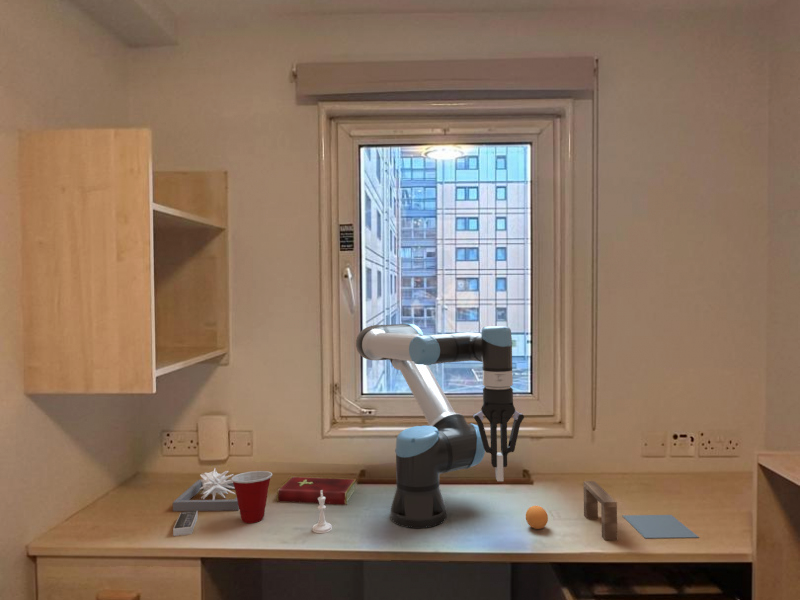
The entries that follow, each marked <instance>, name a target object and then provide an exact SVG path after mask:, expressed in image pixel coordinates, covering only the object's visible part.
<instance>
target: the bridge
mask: <svg viewBox="0 0 800 600" xmlns="http://www.w3.org/2000/svg"><path fill="white" fill-rule="evenodd" d="M598 502H599V503H600V505H601V506H600V507H601V510H600V511H601V538H602V539H603V540H604V541H618V501H616V500H615V499H614V498H613V497H612V496H611V495H610V494H609V493H608V492H607V491H606V490H604V489H603V487H602V486H601V485H599V483H597V482H596V481H595V480H589V481H588V480H586V481H585V480H583V516H584V518H586V519H589V520H591V519H599V507H598V506H599V503H598Z"/></svg>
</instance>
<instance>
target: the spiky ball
mask: <svg viewBox="0 0 800 600" xmlns="http://www.w3.org/2000/svg"><path fill="white" fill-rule="evenodd" d="M228 473H229V470H225V471H223V472H221V473H220V472H219V473H218V472H217V470H216V467H214V469H213V471H210V472H204V473H203V472H202V473H201V474H199V475H200V477H201V478H202V479H200V480H201V482H202V485H203V487H201V488H200V489H201V490H202V492H200V495H202V496H201V497H200V498H201V499H202V500H206V498H207V497H208V496H209V495H210V494H211V495H212V500H216V495H217V494H218V495H219V496H221V497H223V498H224V499H226V496H225V495H224V494H226V495H228V494H229V493H230V494H233V495H236V492H234V491H232V490H235V488H234V487H232V486H229V485H228V484H230V483H233V481H232V480H228V481H226V479H230V477H231V478H232V477H233V476H235V475H234V473H231V474H229V475H227V474H228ZM224 487H226V488H229V489H226V488H224ZM230 488H232V489H230Z"/></svg>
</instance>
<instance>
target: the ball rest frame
mask: <svg viewBox="0 0 800 600" xmlns="http://www.w3.org/2000/svg"><path fill="white" fill-rule="evenodd" d="M201 480H202V479H197V480H196V481H195V482H194V483H193V484H192V485H191V486H189V487H188V489H186V490H185V491H184V492H183V493H182V494H181V495H180V496H178V497H177V498H176V499H175V500H174V501H172V512H187V511H198V512H199V511H200V512H205V511H206V512H211V511H212V512H213V511H214V512H215V511H218V512H220V511H221V512H222V511H240V510H239V506H238V501H237V496H236V497H235V498H234V499H214V500H213V499H193V498H194V497H195V496H196V495H197V494H198V493H199V492H200V491H201V490H202V489H200V488H201V487H203V485H202V482H201ZM228 480H231V478H227V479H226V481H228ZM228 485H229V486H232V487H234V483H230V484H228ZM224 488H226V487H224ZM234 488H235V487H234ZM226 489H228V490H233V489H232V488H230V489H229V488H226ZM193 496H194V497H193ZM192 497H193V498H192ZM191 498H192V499H191ZM190 499H191V500H190Z"/></svg>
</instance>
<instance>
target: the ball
mask: <svg viewBox="0 0 800 600" xmlns="http://www.w3.org/2000/svg"><path fill="white" fill-rule="evenodd" d="M525 519H526V522H527V524H528V526H530V528H532V529H535V530H540V529H543V528H545V527H546V526H547V525H548V522H549V521H548V520H549V516H548V513H547V511H546V509H544V507H541V506H540V505H531V506H530V507H529V508H528V509H527V511H526V513H525Z"/></svg>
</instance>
